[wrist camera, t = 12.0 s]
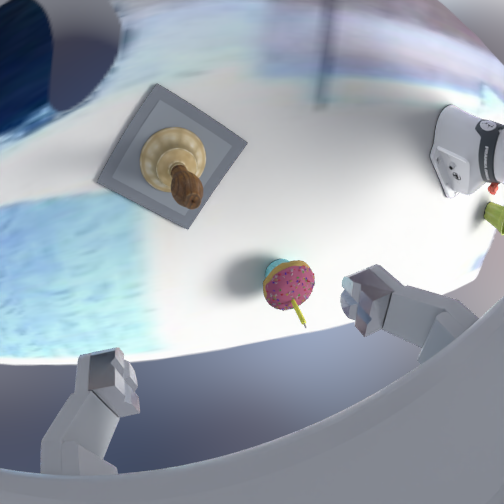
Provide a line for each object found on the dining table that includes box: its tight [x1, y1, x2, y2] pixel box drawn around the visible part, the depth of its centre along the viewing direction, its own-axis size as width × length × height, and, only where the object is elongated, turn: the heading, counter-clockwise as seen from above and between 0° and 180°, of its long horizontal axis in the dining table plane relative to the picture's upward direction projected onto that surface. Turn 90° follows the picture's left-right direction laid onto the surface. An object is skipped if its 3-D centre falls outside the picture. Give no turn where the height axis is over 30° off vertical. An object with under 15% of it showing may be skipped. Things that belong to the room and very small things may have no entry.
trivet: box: [97, 84, 247, 229], centre depth 33 cm, size 14×14×1 cm
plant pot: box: [484, 202, 504, 235], centre depth 63 cm, size 9×9×9 cm
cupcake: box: [263, 259, 315, 328], centre depth 43 cm, size 9×8×12 cm
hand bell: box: [140, 127, 206, 210], centre depth 26 cm, size 8×8×16 cm
